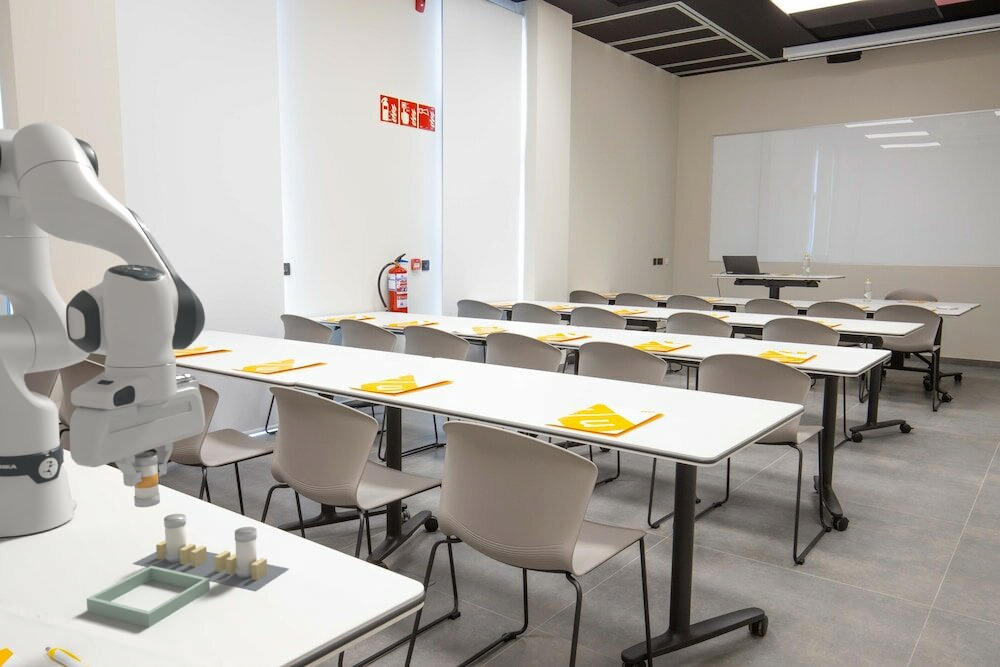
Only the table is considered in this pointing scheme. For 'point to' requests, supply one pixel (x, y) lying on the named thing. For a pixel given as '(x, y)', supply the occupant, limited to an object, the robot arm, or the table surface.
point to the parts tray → (133, 615)
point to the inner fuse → (174, 536)
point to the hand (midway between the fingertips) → (145, 479)
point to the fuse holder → (214, 566)
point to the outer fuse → (245, 550)
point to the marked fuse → (147, 479)
